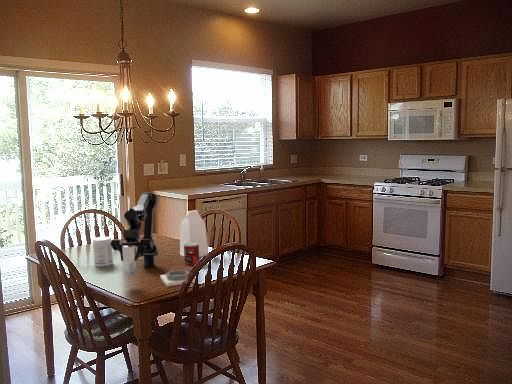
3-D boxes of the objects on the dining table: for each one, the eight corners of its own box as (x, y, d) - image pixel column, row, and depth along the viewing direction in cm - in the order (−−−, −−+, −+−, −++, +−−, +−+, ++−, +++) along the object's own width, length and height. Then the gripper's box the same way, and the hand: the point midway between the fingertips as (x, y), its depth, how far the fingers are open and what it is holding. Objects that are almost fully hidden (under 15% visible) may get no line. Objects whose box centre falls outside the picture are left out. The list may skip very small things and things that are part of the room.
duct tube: (122, 272, 218) (121, 245, 216) (136, 271, 220) (134, 244, 219) (124, 276, 213) (123, 248, 211) (138, 274, 215) (136, 246, 213)
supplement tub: (107, 261, 262) (106, 235, 260) (116, 264, 255) (114, 238, 254) (91, 264, 255) (89, 238, 253) (99, 268, 249) (97, 241, 247)
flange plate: (160, 278, 230) (159, 271, 229) (188, 274, 235) (187, 267, 235) (166, 286, 217) (166, 279, 216) (195, 282, 222) (195, 275, 222)
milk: (190, 258, 264) (188, 213, 261) (180, 254, 273) (178, 211, 269) (208, 255, 271) (206, 210, 268) (197, 251, 280) (196, 208, 277)
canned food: (181, 263, 254) (181, 244, 253) (193, 260, 260) (192, 241, 258) (190, 266, 249) (189, 246, 247) (202, 263, 254) (201, 243, 253)
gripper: (110, 222, 218) (103, 251, 208) (150, 222, 217) (145, 251, 208) (116, 235, 227) (110, 264, 217) (155, 235, 226) (150, 263, 216)
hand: (128, 260), depth 214 cm, fingers closed on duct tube, 6 cm apart
